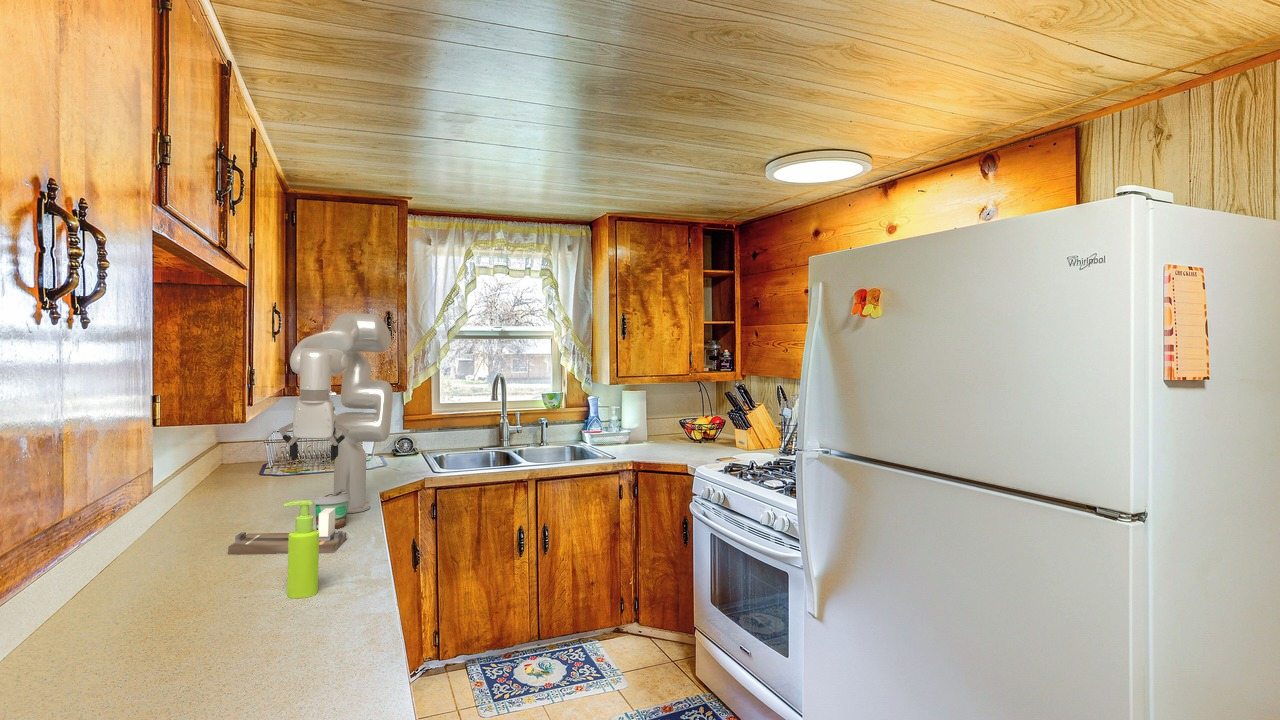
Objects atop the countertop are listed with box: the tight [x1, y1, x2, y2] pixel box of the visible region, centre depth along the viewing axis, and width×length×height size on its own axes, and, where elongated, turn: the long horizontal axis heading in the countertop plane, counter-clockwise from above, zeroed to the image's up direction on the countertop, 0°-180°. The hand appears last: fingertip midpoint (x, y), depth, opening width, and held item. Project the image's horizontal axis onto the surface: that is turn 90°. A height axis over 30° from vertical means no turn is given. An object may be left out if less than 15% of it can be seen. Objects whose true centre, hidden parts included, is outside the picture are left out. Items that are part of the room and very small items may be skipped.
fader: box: [318, 508, 336, 541], centre depth 176 cm, size 6×3×7 cm, turn 10°
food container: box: [313, 489, 351, 530], centre depth 195 cm, size 12×6×10 cm, turn 168°
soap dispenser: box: [283, 499, 320, 599], centre depth 143 cm, size 6×7×20 cm
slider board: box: [227, 530, 347, 555], centre depth 175 cm, size 12×25×4 cm, turn 100°
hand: (314, 459), depth 178 cm, fingers open, 9 cm apart
